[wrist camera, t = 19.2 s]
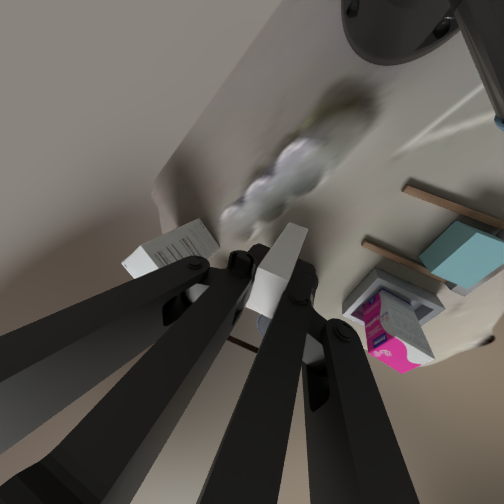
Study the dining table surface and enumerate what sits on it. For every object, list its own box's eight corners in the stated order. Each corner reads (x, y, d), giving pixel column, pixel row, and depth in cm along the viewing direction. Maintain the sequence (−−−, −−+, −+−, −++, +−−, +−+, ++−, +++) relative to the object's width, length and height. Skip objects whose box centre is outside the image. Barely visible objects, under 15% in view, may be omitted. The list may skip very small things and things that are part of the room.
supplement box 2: (380, 286, 35) (397, 336, 25) (411, 303, 34) (439, 360, 25) (360, 304, 38) (367, 354, 29) (387, 320, 37) (404, 376, 28)
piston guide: (406, 184, 28) (412, 187, 25) (527, 229, 25) (547, 238, 22) (361, 243, 34) (362, 251, 31) (454, 285, 31) (464, 296, 29)
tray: (374, 267, 35) (378, 277, 32) (436, 295, 33) (445, 308, 30) (342, 303, 41) (342, 315, 38) (392, 329, 39) (396, 343, 36)
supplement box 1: (199, 260, 52) (149, 299, 38) (178, 233, 50) (119, 263, 36) (221, 247, 47) (173, 286, 33) (199, 216, 45) (139, 244, 31)
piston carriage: (455, 220, 27) (476, 232, 23) (493, 234, 26) (522, 250, 22) (418, 257, 31) (430, 272, 27) (450, 270, 30) (467, 289, 26)
